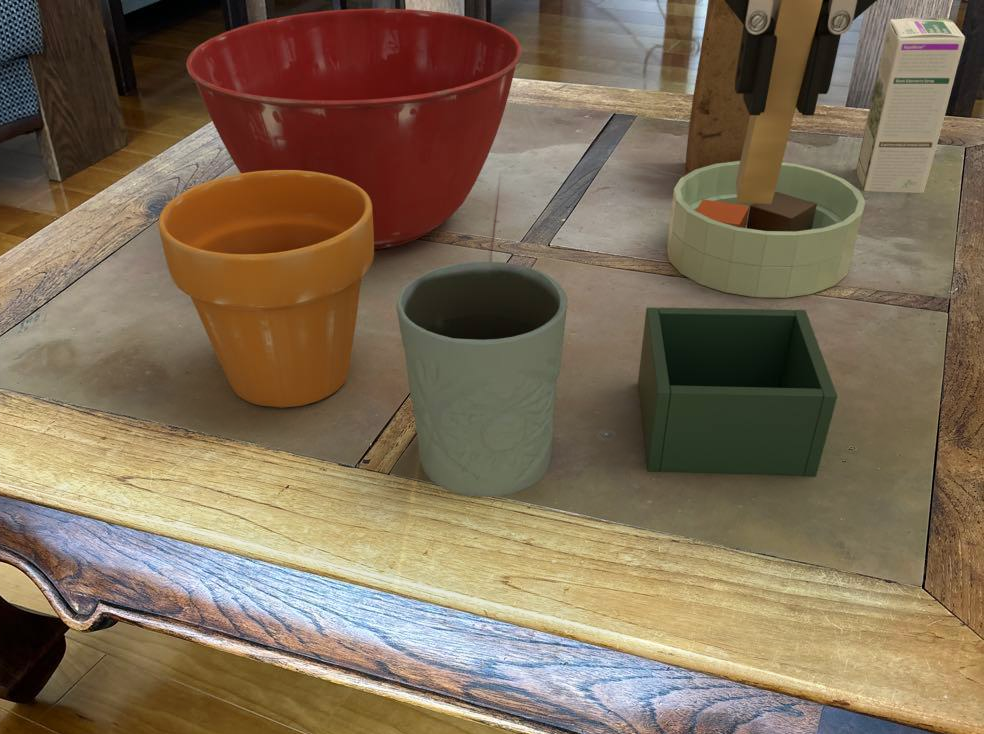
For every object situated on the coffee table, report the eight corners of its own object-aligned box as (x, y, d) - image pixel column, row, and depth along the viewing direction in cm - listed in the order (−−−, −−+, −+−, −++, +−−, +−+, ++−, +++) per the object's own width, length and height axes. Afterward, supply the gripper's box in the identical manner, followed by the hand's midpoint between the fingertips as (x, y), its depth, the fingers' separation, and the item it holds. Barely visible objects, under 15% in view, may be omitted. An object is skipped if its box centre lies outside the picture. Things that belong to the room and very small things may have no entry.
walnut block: (807, 248, 89) (817, 203, 86) (782, 263, 87) (791, 218, 84) (767, 235, 91) (775, 191, 89) (742, 249, 89) (749, 205, 87)
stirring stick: (769, 184, 61) (820, -24, 52) (771, 204, 60) (824, -5, 50) (735, 182, 61) (779, -25, 52) (736, 203, 60) (782, -5, 51)
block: (758, 209, 97) (800, -27, 84) (678, 204, 98) (707, -29, 85) (760, 167, 105) (799, -55, 92) (686, 162, 106) (714, -57, 93)
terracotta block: (741, 249, 89) (749, 205, 87) (732, 269, 86) (739, 224, 84) (696, 242, 90) (702, 198, 88) (685, 261, 88) (691, 217, 85)
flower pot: (230, 323, 83) (201, 164, 74) (401, 334, 81) (391, 172, 72) (165, 422, 72) (122, 249, 64) (360, 437, 70) (342, 261, 62)
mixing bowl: (297, 152, 111) (279, -5, 101) (552, 179, 104) (559, 13, 94) (161, 265, 91) (120, 84, 81) (463, 309, 84) (460, 115, 74)
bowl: (828, 226, 94) (843, 160, 90) (865, 306, 82) (884, 235, 78) (660, 224, 95) (667, 159, 91) (673, 303, 84) (683, 233, 80)
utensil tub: (786, 392, 73) (805, 309, 69) (814, 483, 65) (837, 396, 61) (637, 389, 74) (646, 306, 70) (646, 478, 66) (657, 391, 62)
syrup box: (924, 198, 98) (971, 34, 88) (859, 196, 98) (899, 34, 89) (913, 175, 102) (957, 17, 92) (851, 173, 103) (888, 16, 93)
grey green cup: (517, 528, 63) (521, 357, 55) (377, 482, 67) (362, 316, 59) (582, 442, 69) (595, 278, 61) (451, 404, 73) (447, 246, 65)
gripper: (677, -335, 41) (632, 130, 53) (1090, -346, 40) (948, 133, 52) (663, -336, 47) (626, 85, 59) (1024, -346, 46) (910, 86, 58)
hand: (777, 104), depth 55 cm, fingers closed on stirring stick, 2 cm apart
